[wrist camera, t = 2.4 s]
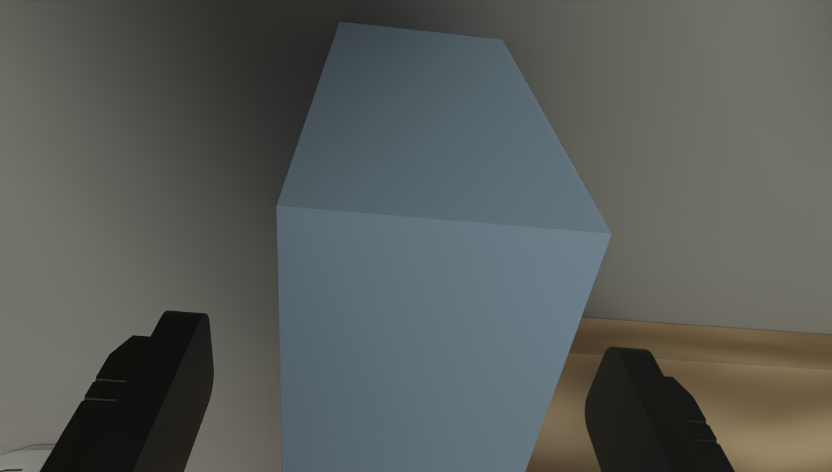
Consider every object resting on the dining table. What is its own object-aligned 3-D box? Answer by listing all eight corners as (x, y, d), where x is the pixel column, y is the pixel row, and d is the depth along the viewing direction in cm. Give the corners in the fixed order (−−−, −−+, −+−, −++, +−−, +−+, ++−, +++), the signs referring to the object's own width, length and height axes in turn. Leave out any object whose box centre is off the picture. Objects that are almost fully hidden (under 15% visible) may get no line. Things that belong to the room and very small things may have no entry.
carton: (339, 20, 16) (276, 205, 8) (516, 40, 16) (640, 236, 8) (330, 254, 20) (283, 534, 12) (469, 265, 21) (517, 542, 12)
